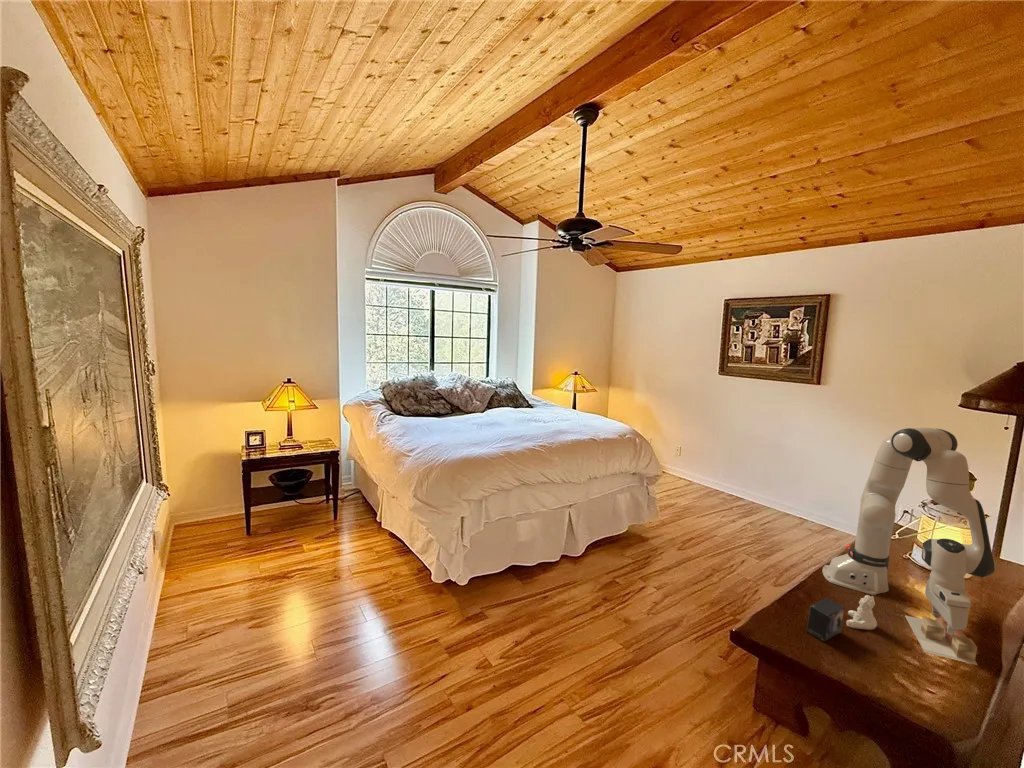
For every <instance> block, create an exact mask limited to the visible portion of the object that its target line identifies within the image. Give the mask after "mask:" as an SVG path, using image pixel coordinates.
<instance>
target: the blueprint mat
mask: <svg viewBox="0 0 1024 768" xmlns="http://www.w3.org/2000/svg"><path fill="white" fill-rule="evenodd" d="M904 617H905V618H906V620H907V622H908V624H909V626H910V628H911V630H912V632H913V634H914V636H915V637H916V639H917V641H918V643H919V645H920V647H921V649H922V650H923V652H924V653H928V654H931V655H934V656H939V657H942V658H947V659H950V660H951V659H952V660H955V661H959V662H964V663H966V664H970V665H975V666H979V665H978V663H977V662H976V660H975V661H971V660H967V659H963V658H959V657H956V655H955V654H954V652H953V650H952V649H951V645H950V644H949V643H948V641H947V640H946V638H945V636H944V635H943V640H942V642H941V641H937V640H933V639H929V638H925V636H924V634H923V633H922V631H921V625H922V619H923V618H920V617H914V616H909V615H906V614H905V615H904Z"/></svg>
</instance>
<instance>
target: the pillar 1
mask: <svg viewBox="0 0 1024 768" xmlns="http://www.w3.org/2000/svg"><path fill="white" fill-rule="evenodd" d="M921 619H922V625H921V631H922V633H923V634H924V636H925V638H929V639H933V640H937V641H941V642H942V640H943V634H944V627H943V626H942V624H941V622H940V621H938V620H937V619H934V618H929V617H924V616H922V618H921Z"/></svg>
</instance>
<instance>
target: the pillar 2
mask: <svg viewBox="0 0 1024 768" xmlns="http://www.w3.org/2000/svg"><path fill="white" fill-rule="evenodd" d="M966 637H967V636H966ZM966 637H961V636H957V635H953V639H952V645H951V649H952V650H953V652H954V654H955V655H956V657H959V658H963V659H967V660H971V661H976V657H977V656H976V655H977V651H978V647H977V645H976V644H975V642H974V641H973V639H972V638H970V637H967V638H966Z"/></svg>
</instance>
